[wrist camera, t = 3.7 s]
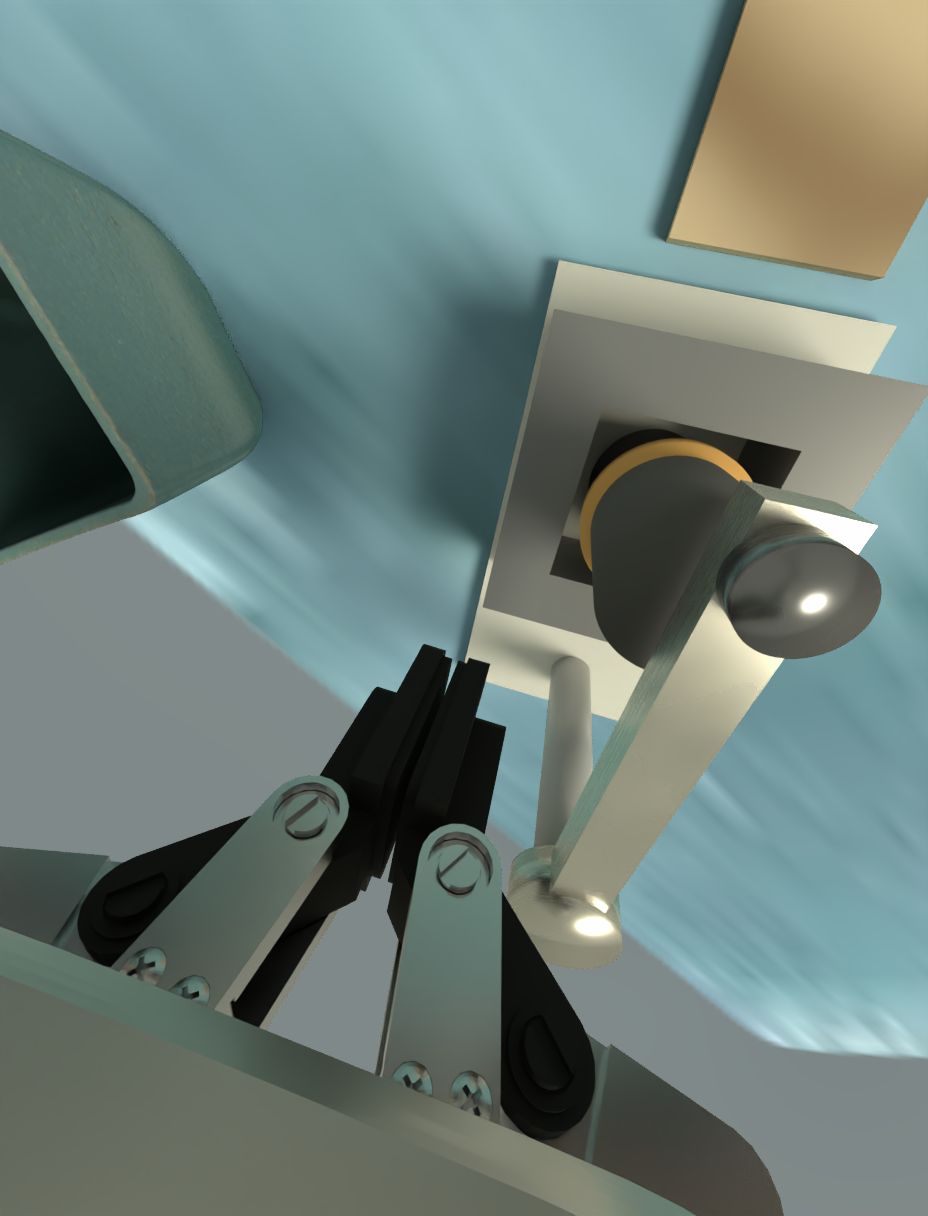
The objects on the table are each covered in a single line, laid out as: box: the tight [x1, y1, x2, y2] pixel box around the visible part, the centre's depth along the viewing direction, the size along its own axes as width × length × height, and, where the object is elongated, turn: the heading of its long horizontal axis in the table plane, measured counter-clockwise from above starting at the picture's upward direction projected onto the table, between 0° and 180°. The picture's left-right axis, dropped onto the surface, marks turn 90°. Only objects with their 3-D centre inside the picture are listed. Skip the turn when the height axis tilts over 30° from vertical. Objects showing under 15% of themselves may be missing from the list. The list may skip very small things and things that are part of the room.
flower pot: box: [0, 129, 263, 565], centre depth 15 cm, size 9×9×9 cm
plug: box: [580, 429, 752, 669], centre depth 13 cm, size 5×5×9 cm
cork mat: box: [666, 0, 928, 281], centre depth 12 cm, size 5×6×1 cm
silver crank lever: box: [507, 480, 881, 969], centre depth 9 cm, size 13×3×2 cm, turn 169°
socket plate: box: [465, 260, 928, 847], centre depth 14 cm, size 17×10×10 cm, turn 169°
